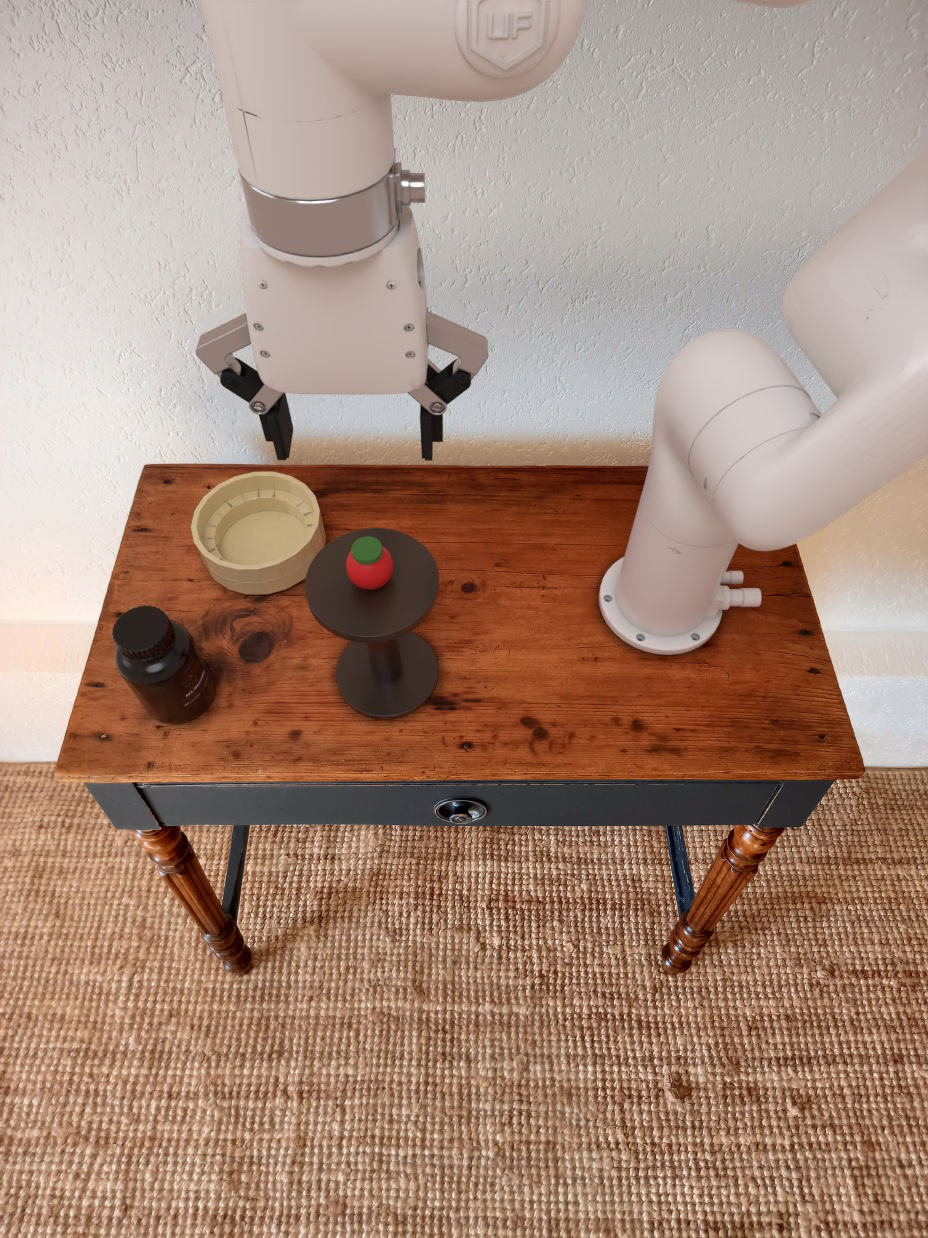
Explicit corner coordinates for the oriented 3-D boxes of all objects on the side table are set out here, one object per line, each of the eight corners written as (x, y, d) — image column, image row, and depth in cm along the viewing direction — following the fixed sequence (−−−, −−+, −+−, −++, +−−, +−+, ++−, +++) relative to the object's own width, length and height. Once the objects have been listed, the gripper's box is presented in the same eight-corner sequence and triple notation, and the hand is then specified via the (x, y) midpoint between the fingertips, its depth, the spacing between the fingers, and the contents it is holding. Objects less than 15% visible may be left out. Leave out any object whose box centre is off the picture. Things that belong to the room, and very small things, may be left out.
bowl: (330, 501, 91) (324, 470, 87) (320, 596, 84) (313, 568, 80) (214, 502, 91) (202, 471, 87) (195, 598, 84) (181, 569, 80)
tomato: (396, 560, 67) (392, 528, 63) (394, 598, 65) (390, 567, 61) (350, 561, 67) (343, 529, 63) (347, 599, 65) (340, 568, 61)
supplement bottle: (218, 718, 76) (181, 655, 66) (145, 733, 76) (96, 670, 66) (215, 658, 80) (179, 589, 70) (145, 671, 79) (99, 603, 69)
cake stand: (443, 626, 82) (439, 526, 69) (443, 724, 76) (438, 636, 63) (336, 627, 82) (311, 528, 69) (327, 725, 76) (298, 637, 63)
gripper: (492, 158, 42) (483, 407, 57) (163, 156, 42) (237, 406, 56) (496, 241, 38) (485, 487, 52) (131, 239, 38) (220, 486, 52)
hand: (357, 445), depth 54 cm, fingers open, 9 cm apart
